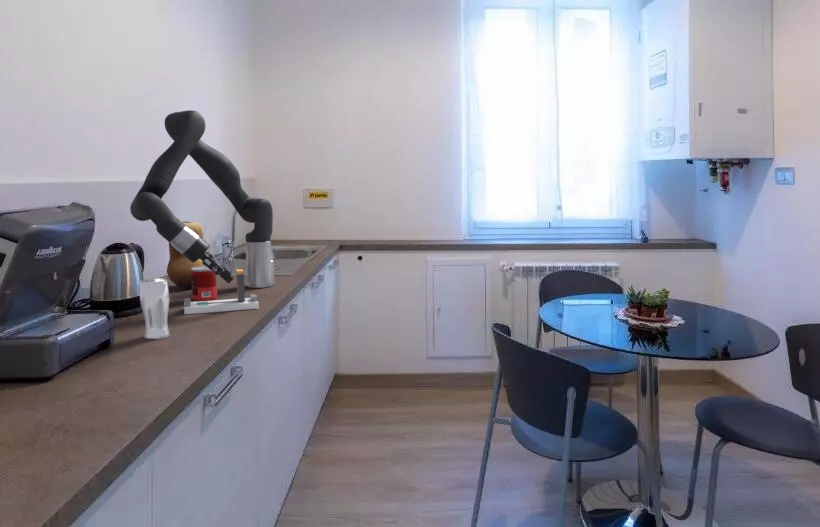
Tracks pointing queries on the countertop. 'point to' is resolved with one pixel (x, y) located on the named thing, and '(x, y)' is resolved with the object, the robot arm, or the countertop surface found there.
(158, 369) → the countertop surface
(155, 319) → the beer glass
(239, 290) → the post
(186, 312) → the white slider base
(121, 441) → the countertop surface
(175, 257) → the butternut squash
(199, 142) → the robot arm
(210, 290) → the canned food
